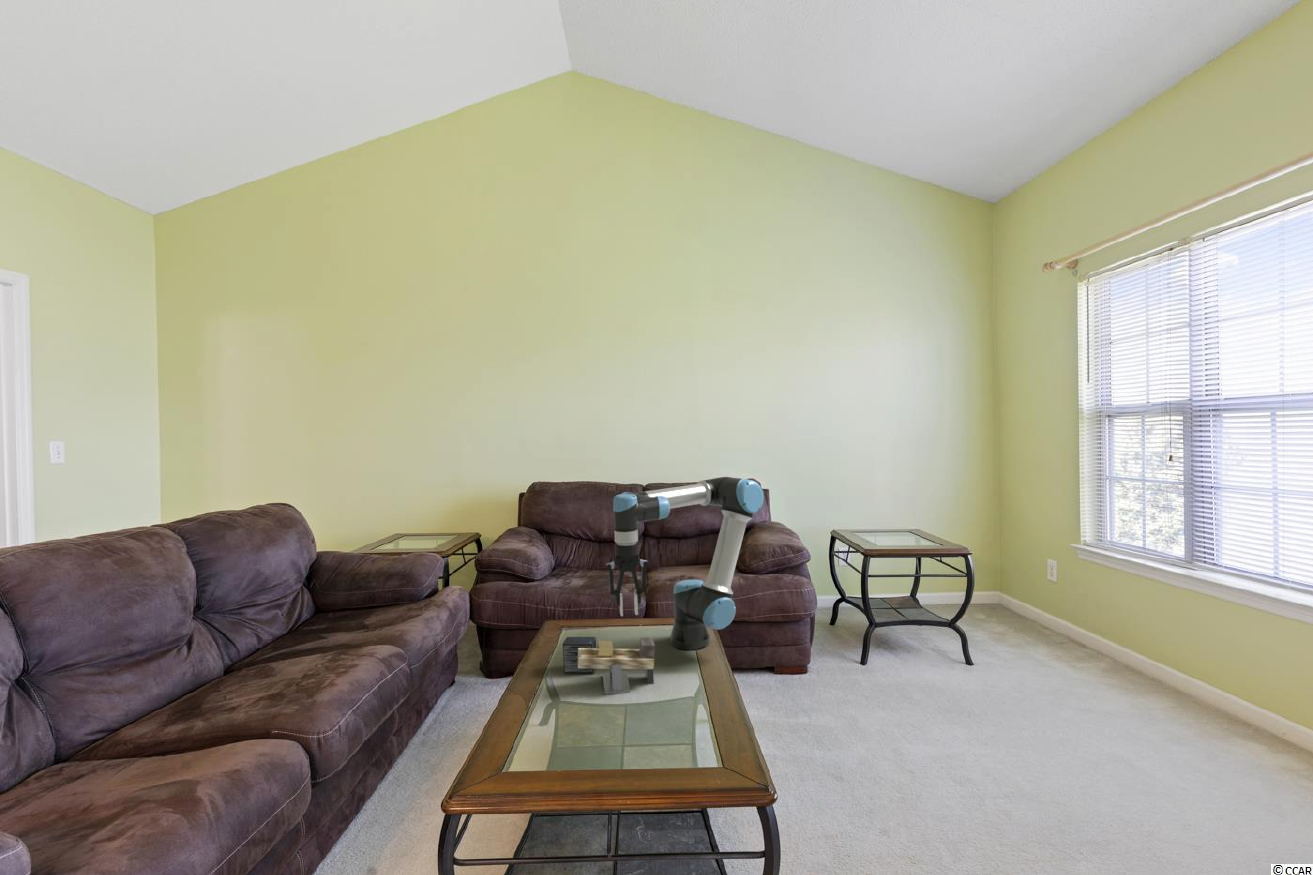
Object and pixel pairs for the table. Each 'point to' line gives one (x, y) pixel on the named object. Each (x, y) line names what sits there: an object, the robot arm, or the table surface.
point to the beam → (620, 657)
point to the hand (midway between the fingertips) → (628, 613)
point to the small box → (576, 654)
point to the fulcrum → (621, 680)
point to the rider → (604, 649)
